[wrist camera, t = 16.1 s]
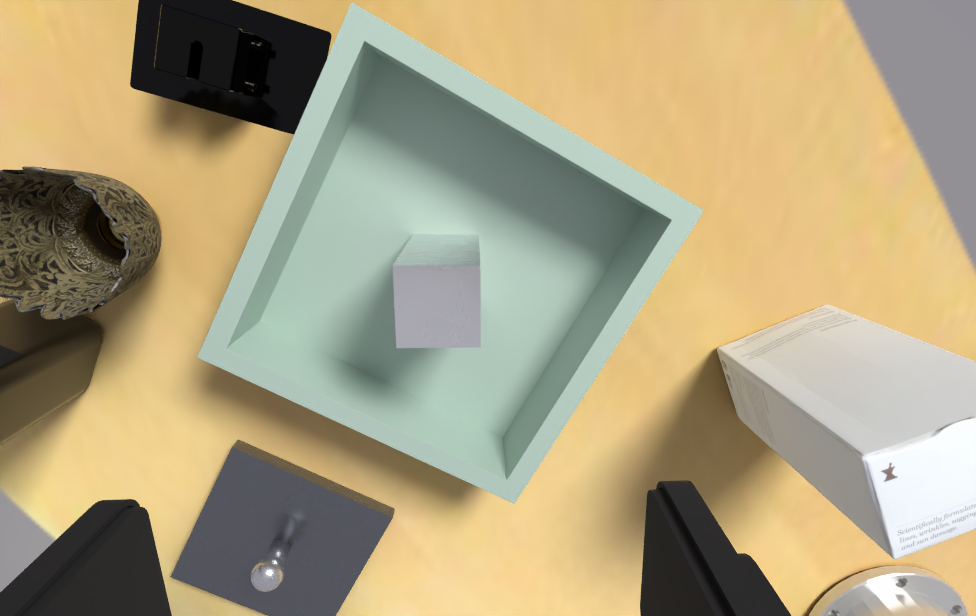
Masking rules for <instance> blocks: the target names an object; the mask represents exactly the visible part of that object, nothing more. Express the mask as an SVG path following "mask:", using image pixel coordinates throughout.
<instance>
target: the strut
mask: <svg viewBox="0 0 976 616" xmlns="http://www.w3.org/2000/svg"><path fill="white" fill-rule="evenodd" d="M392 267H393V288H394V309H395V330H396V348H479V347H481V282H480V247H479V234H413V235H412V237H411V238H410V240H409V241H408V243H407V244H406V246H405V247H404V249H403V250H402V252H401V253H400V255H399V256H398V258H397V259H396V261H395V262H394V264H393V265H392Z"/></svg>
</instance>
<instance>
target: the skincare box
mask: <svg viewBox="0 0 976 616" xmlns="http://www.w3.org/2000/svg"><path fill="white" fill-rule="evenodd" d="M717 352H718V355H719V359H720V362H721V365H722V368H723V371H724V374H725V378H726V381H727V384H728V387H729V391H730V393H731V396H732V400H733V403H734V406H735V409H736V412H737V415H738V417H739V419H740V420H741V421H742V422H743V423H744V424H745V425H747V426H748V427H749V428H750V429H751V430H752V431H753V432H754V433H755V434H756V435H757V436H758V437H760V438H761V439H762V440H763V441H764V442H765V443H766V444H767V445H768V446H769V447H771V448H772V449H773V450H774V451H775V452H776V453H777V454H778V455H779V456H781V457H782V458H783V459H784V460H785V461H786V462H787V463H788V464H789V465H791V466H792V467H793V468H794V469H795V470H796V471H797V472H798V473H799V474H800V475H802V476H803V477H804V478H805V479H806V480H807V481H808V482H809V483H810V484H811V485H812V486H814V487H815V488H816V489H817V490H818V491H819V492H820V493H821V494H822V495H823V496H825V497H826V498H827V499H828V500H829V501H830V502H831V503H832V504H833V505H834V506H836V507H837V508H838V509H839V510H840V511H841V512H842V513H843V514H845V515H846V516H847V517H848V518H849V519H850V520H851V521H852V522H853V523H854V524H856V525H857V526H858V527H859V528H860V529H861V530H862V531H863V532H864V533H866V534H867V535H868V536H869V537H870V538H871V539H872V540H873V541H875V542H876V543H877V544H878V545H879V546H880V547H881V548H882V549H883V550H884V551H885V552H887V553H888V554H889V555H890V556H891V557H892V558H893V559H898V558H901V557H903V556H906V555H909V554H912V553H914V552H917V551H919V550H922V549H924V548H927V547H930V546H932V545H935V544H937V543H940V542H942V541H945V540H948V539H950V538H953V537H956V536H958V535H961V534H964V533H966V532H969V531H971V530H974V529H976V362H975V361H973V360H970V359H967V358H965V357H962V356H960V355H957V354H954V353H952V352H949V351H947V350H944V349H942V348H939V347H937V346H934V345H932V344H929V343H926V342H924V341H921V340H918V339H916V338H913V337H911V336H908V335H905V334H903V333H900V332H898V331H895V330H893V329H890V328H887V327H885V326H882V325H880V324H877V323H874V322H872V321H869V320H867V319H864V318H861V317H859V316H856V315H854V314H851V313H849V312H846V311H843V310H841V309H838V308H836V307H833V306H831V305H829V304H826V305H824V306H821V307H818V308H816V309H813V310H811V311H808V312H806V313H803V314H801V315H798V316H796V317H793V318H791V319H788V320H785V321H783V322H780V323H778V324H775V325H773V326H770V327H768V328H765V329H763V330H760V331H758V332H755V333H753V334H750V335H748V336H746V337H744V338H741V339H739V340H737V341H734V342H732V343H729V344H726V345H723V346H721V347H718V348H717Z"/></svg>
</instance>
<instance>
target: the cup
mask: <svg viewBox="0 0 976 616" xmlns="http://www.w3.org/2000/svg"><path fill="white" fill-rule="evenodd" d="M22 168H23V170H0V297H4V298H10V299H14V300H17V301H18V303H19V304H18V305H17V303H16V302H15V303H16V307H17V311H19V312H28V311H31V310H35V309H40V308H42V309H41V316H42V317H43V318H44V319H49V320H50V319H58V318H60V317H62V316H63V317H62V319H63V320H66V319H69V318H72V317H75V316H77V315H82V314H85V313H87V312H88V311H89V313H91V312H93V311H95V310H97V309H98V308H100V307H101V306H103V305H104V304H105V303H107V302H109V301H110V300H112V299H113V298H115V297H116V296H118V295H119V294H121V293H122V292H124V291H125V290H127V289H128V288H130V287H131V286H132V285H134V284H135V283H136V282H138V281H139V280H140V279H141V278H142V277H143V276H144V275H145V274H146V273H147V272H148V271H149V270H150V269H151V267H152V266H153V265H154V263H155V261H156V259H157V256H158V254H159V251H160V246H161V222H160V219H159V216H158V214H157V213H156V211H155V210H154V209H153V208H152V207H151V206H150V205H149V204H148V202H147V201H146V200H145V199H144V198H143V197H142V196H141V195H140V194H139V193H137V192H136V191H135V190H133V189H132V188H130V187H129V186H127V185H126V184H124V183H122V182H120V181H117V180H115V179H112V178H109V177H106V176H102V175H97V174H92V173H86V172H78V171H68V170H57V169H46V168H41V167H22ZM19 301H20V302H19Z"/></svg>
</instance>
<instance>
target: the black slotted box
mask: <svg viewBox="0 0 976 616" xmlns="http://www.w3.org/2000/svg"><path fill="white" fill-rule="evenodd" d="M330 41H331V33H330V32H328V31H324V30H321V29H318V28H315V27H312V26H309V25H306V24H303V23H300V22H297V21H294V20H291V19H288V18H285V17H282V16H279V15H276V14H273V13H269V12H266V11H263V10H260V9H257V8H254V7H251V6H248V5H245V4H242V3H239V2H236V1H233V0H139V3H138V13H137V23H136V33H135V42H134V52H133V62H132V72H131V82H130V85H131V87H132V88H134V89H137V90H140V91H144V92H147V93H151V94H154V95H158V96H161V97H165V98H168V99H172V100H175V101H179V102H182V103H186V104H189V105H193V106H196V107H200V108H203V109H206V110H210V111H213V112H217V113H220V114H224V115H227V116H231V117H234V118H238V119H241V120H245V121H248V122H252V123H255V124H259V125H262V126H266V127H269V128H273V129H276V130H280V131H283V132H287V133H290V134H295V132H296V129H297V127H298V125H299V123H300V120H301V118H302V116H303V113H304V111H305V109H306V107H307V104H308V102H309V100H310V97H311V95H312V93H313V90H314V88H315V86H316V84H317V81H318V79H319V77H320V74H321V72H322V70H323V67H324V65H325V63H326V61H327V56H328V51H329V46H330Z"/></svg>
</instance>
